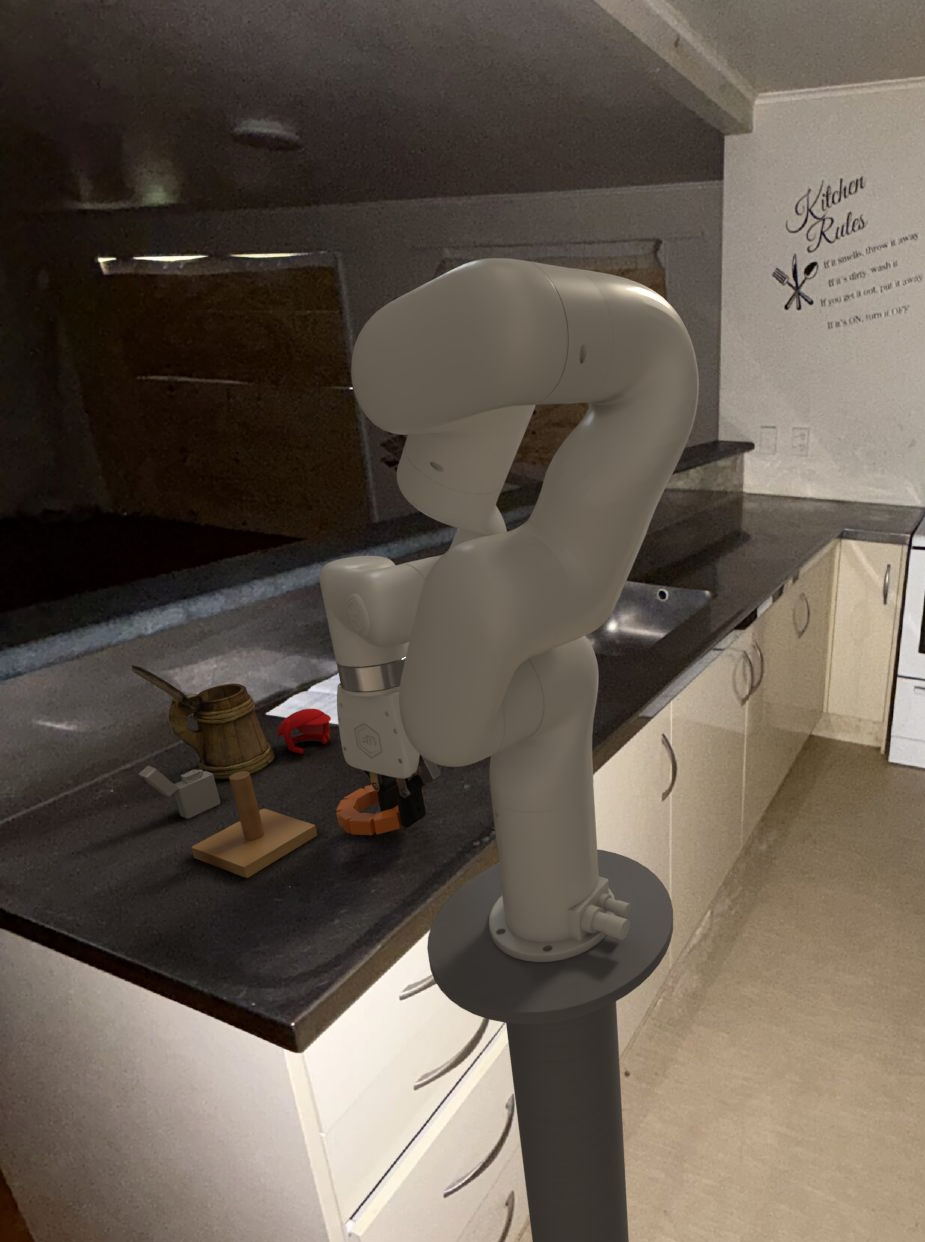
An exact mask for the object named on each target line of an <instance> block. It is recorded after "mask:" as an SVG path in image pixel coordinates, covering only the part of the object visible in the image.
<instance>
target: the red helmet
mask: <svg viewBox="0 0 925 1242" xmlns="http://www.w3.org/2000/svg"><path fill="white" fill-rule="evenodd" d="M331 720H332V718H331V716H330V715H328V714H326V713H325V712H324V711H322V710H320V709H318V708H304V709H301V710H300V709H299V710H297V711H295V712H293V713H291V714H289V715H288V716H286V717H285V718H284V719H283V720H282V721H281V722H280V724H279V726H278V727H277V730H276V733H277V737H281V736H283V739H284V741H285V745H286V747H287V749H288V751H290V752H292V753H296V754H299V755H303V754H304V753H305V749H304V748H301V747H300V746H299V747H298V746H295V744H296V743H299V742H303V741H307V740H317V741H320V743H321V744H322V745H326V744H327V743H328V740H330V739H331V736H330V730H331V724H330V721H331ZM295 729H297V731H299V732H300V733H301V734H300V735H296V736H293V737H292V731H293V730H295Z"/></svg>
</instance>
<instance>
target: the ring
mask: <svg viewBox="0 0 925 1242" xmlns="http://www.w3.org/2000/svg"><path fill="white" fill-rule="evenodd" d="M377 792H379V790H378V791H375V790H374V789H373V788H372V785H371V784H370V785H366V786H364V788H362V787H360V788H358V789H356V790H354V791H353V792H351V793H349V794H348V795H346V796H344V797H343V799H341V800H340V802H338V805H337V807H336V809H335V814H336V818H337V823H338V826H339V827H340V828H341V829H342V830H343V831H344V832H346V833H347V834H351V835H357V836H373V835H374V834H376V835H381V834H384V833H388V832H392V831H395V830H399V829H401V827H402V825H401V820H400V815H399V809H398V805H397V806H396V807H394V808H393V809H389V810H385V811H381V810H380V811H377V812H363V811H364V810H366V809H367V808H369V807H370V806H373V805H377V804H379V800H378V795H377ZM422 793H423V799H424V804H426V801H425V796H424V795H425V794H424V791H423V790H422Z"/></svg>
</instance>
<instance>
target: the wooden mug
mask: <svg viewBox="0 0 925 1242" xmlns="http://www.w3.org/2000/svg"><path fill="white" fill-rule="evenodd" d="M131 671H132V672H133V673H134V674H136V675H137V676H139V677H141V678H142V679H143V680H145V681H147V682H149V683H151V684H152V685H153V686H155V687H157V688H159V689H160V690H161V691H163V692H164V693H166V694H167V695H169V696H170V697H172V699H171V704H170V706H169V709H168V710H169V712H168V719H169V726H170V728H171V730H172V731H173V733H174V735H175V736H177V738H179V739H180V740H181V741H182V742H184V743H185V744H186V745H188V746H189V747H191V748H192V749H193V750H194V751H195V752H196V754H197V756H198V761H197V762H198V770H203V772H204V771H207V772H210V773H212V774H213V776H214V780H215V781H216V780H218V781H219V780H220V781H221V780H222V781H223V780H230V779H229V777H230V776H231V775H232V774H234V773H237V772H241V771H247V772H249V773H250V775H251V774H255V773H257V772H259V771H261V770H262V769H264V768H266V767H267V766H268V765H269V764H271V763H272V762H273V760H274V759H275V753H274V751H273V749H272V746H271V744H270V743H269V742H267V739H266V737H265V734H264V731H263V729H262V727H261V723H260V722H259V719H258V716H257V714H256V711H255V707H256V703H255V701H254V699H253V697H252V696H251V695H250V694H249V693H248V690H247V687H246V686H245V685H243V684H240V683H225V684H219V685H216V686H212V687H209V688H206V689H203V690H202V691H200V692H198V693H194V694H189V695H186V694H185V693H184V692H182V691H181V690H179V689H178V688H176V687H175V686H173V685H172V684H171V683H169V682H167V681H166V680H164V679H163V678H162V677H160V676H158V675H157V674H154V673H152V671H149V670H147V669H146V668H144V667H142V666H137V665H133V664H132V665H131ZM191 715H192V720H194V721H195V722H196V725H197V730H191V729H190V728H189V727H188V725H187V719H188V717H190V716H191Z"/></svg>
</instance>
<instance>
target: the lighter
mask: <svg viewBox="0 0 925 1242" xmlns="http://www.w3.org/2000/svg"><path fill="white" fill-rule="evenodd" d="M138 776H140V777H141V778H142V779H143V780H144V781H146V783H148V784H149V785H150V786H151V787H153V788H154V789H155V790H156V791H158V792H159V793H160V794H161V795H163V796H166V797H167V798H170V797H171V796H172V795H173V794H174V799H175V802H176V805H177V808H178V812H179V816H180V817H182V818H184V819H191V818H194V817H195V816H197V815H199V814H201V813H203V812H206V811H207V810H210V809H212V808H214V807H216V806H219V805H220V804H221V800H220V796H219V792H218V787H217V784H216V779H214V776H213V774H212V773H210V772H207V771H204V772H203V770H199V769H194V768H193V769H192V770H189V771H187V772H185V773H183V774H181V775H180V778H181V780H180V781H178V782H175V783H173V782H172V781H171V780H169V778H167V776H165V775H164V774H163V773H162V772H160V770H158V769H157V768H155V767H153V766H151V765H147V766H145V767H144V769H142V770H141V771H140V772H139V773H138Z"/></svg>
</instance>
